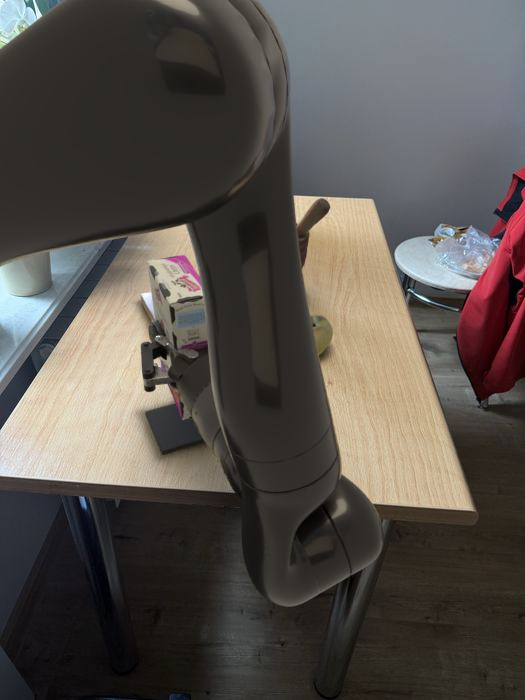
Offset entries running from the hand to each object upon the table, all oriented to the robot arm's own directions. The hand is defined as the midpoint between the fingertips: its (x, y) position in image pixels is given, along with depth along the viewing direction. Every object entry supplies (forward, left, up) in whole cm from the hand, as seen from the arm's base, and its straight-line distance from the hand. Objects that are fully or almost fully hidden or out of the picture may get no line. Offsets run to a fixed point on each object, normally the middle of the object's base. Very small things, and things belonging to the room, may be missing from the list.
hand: (177, 322), depth 65 cm
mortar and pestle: (+28, +23, -15) cm, 39 cm away
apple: (+24, +7, -15) cm, 29 cm away
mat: (0, -2, -15) cm, 15 cm away
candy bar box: (0, -2, -9) cm, 9 cm away
